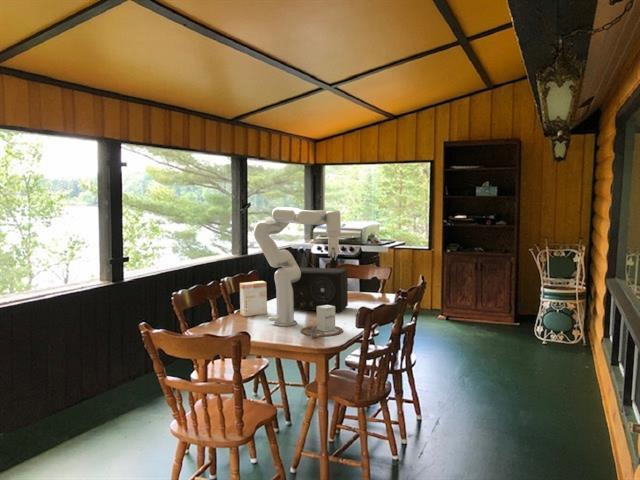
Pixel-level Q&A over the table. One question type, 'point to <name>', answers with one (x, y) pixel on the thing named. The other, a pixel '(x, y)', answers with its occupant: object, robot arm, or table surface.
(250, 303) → the coffeecake box
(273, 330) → the table surface
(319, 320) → the supplement box
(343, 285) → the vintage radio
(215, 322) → the table surface
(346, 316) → the table surface
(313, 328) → the collar
